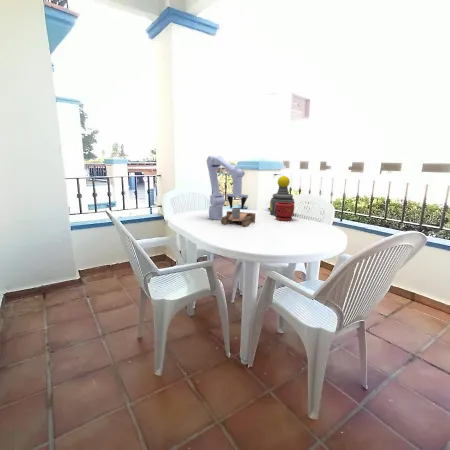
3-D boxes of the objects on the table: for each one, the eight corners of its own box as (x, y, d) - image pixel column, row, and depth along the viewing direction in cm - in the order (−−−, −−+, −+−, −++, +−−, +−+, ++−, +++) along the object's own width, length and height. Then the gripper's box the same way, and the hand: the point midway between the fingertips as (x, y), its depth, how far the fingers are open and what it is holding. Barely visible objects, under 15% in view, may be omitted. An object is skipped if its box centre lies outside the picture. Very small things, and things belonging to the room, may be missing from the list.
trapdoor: (228, 219, 182) (228, 218, 182) (233, 214, 191) (233, 212, 190) (242, 221, 179) (242, 219, 178) (247, 215, 187) (246, 213, 186)
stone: (232, 218, 181) (232, 209, 179) (234, 215, 185) (234, 207, 182) (238, 218, 180) (237, 210, 177) (240, 216, 183) (239, 208, 181)
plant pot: (295, 221, 192) (296, 204, 189) (276, 221, 192) (277, 204, 189) (291, 217, 204) (292, 201, 202) (273, 217, 205) (274, 201, 202)
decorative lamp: (275, 217, 205) (278, 176, 198) (265, 212, 223) (267, 175, 216) (298, 216, 210) (301, 176, 203) (286, 211, 228) (289, 175, 220)
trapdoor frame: (219, 224, 182) (219, 215, 180) (228, 219, 196) (228, 211, 195) (248, 227, 175) (248, 217, 173) (255, 221, 189) (255, 213, 188)
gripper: (224, 187, 177) (224, 208, 180) (246, 188, 171) (245, 210, 175) (228, 186, 183) (228, 206, 186) (249, 187, 178) (248, 208, 181)
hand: (236, 208), depth 181 cm, fingers open, 7 cm apart
